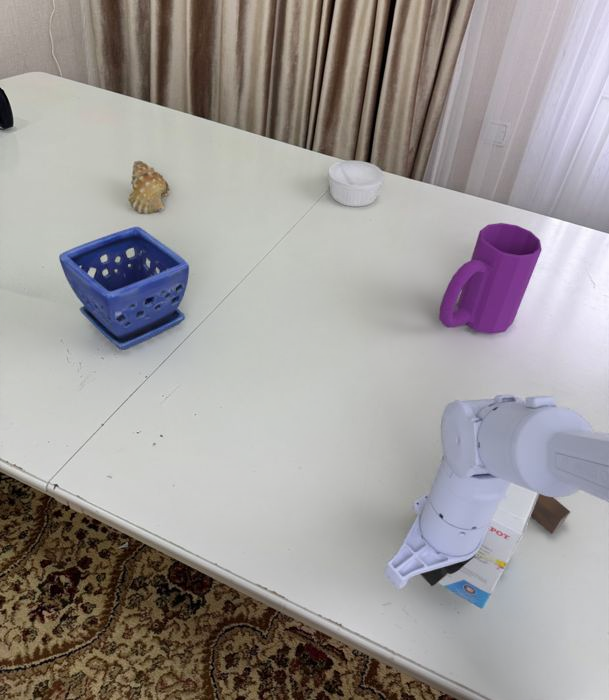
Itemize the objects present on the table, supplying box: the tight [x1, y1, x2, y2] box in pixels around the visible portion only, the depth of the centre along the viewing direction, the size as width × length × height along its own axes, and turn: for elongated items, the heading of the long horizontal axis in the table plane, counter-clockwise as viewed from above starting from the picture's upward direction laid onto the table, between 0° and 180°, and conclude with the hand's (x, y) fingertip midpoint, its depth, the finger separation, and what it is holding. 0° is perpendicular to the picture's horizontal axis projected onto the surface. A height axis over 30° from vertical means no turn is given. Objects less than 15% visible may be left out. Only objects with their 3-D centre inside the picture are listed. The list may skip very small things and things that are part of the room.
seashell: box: [127, 160, 171, 215], centre depth 119 cm, size 9×8×10 cm
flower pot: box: [58, 226, 190, 351], centre depth 90 cm, size 13×13×12 cm
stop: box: [530, 494, 571, 535], centre depth 75 cm, size 12×2×3 cm, turn 38°
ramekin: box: [327, 159, 385, 208], centre depth 126 cm, size 11×11×5 cm
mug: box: [438, 222, 542, 335], centre depth 94 cm, size 9×16×15 cm, turn 124°
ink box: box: [436, 483, 539, 610], centre depth 65 cm, size 8×8×12 cm
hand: (429, 575), depth 64 cm, fingers closed, pressing on ink box
